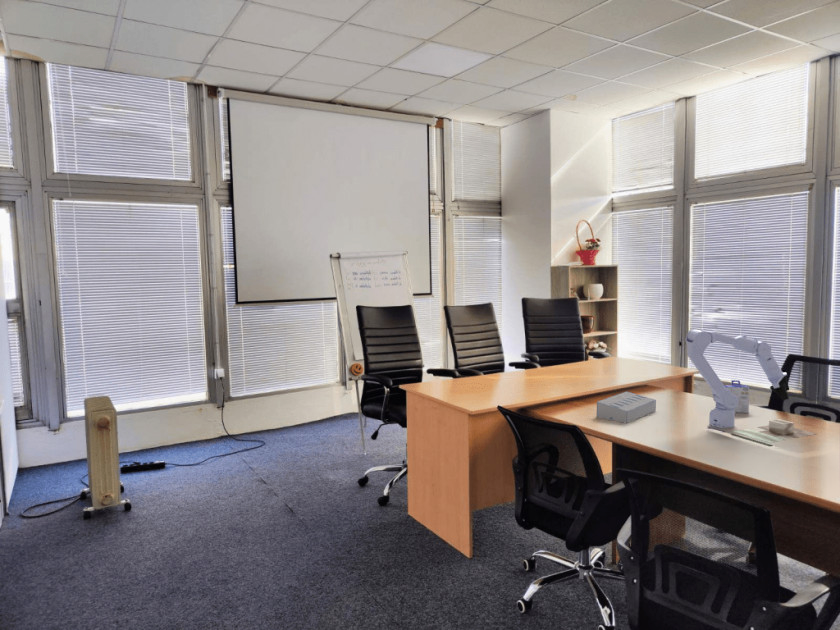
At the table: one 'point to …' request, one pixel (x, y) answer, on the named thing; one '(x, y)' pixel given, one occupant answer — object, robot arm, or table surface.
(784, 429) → the birch block
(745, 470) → the table surface
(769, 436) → the trap board
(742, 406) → the ink cartridge box
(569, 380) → the table surface
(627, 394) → the warehouse
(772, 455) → the table surface
